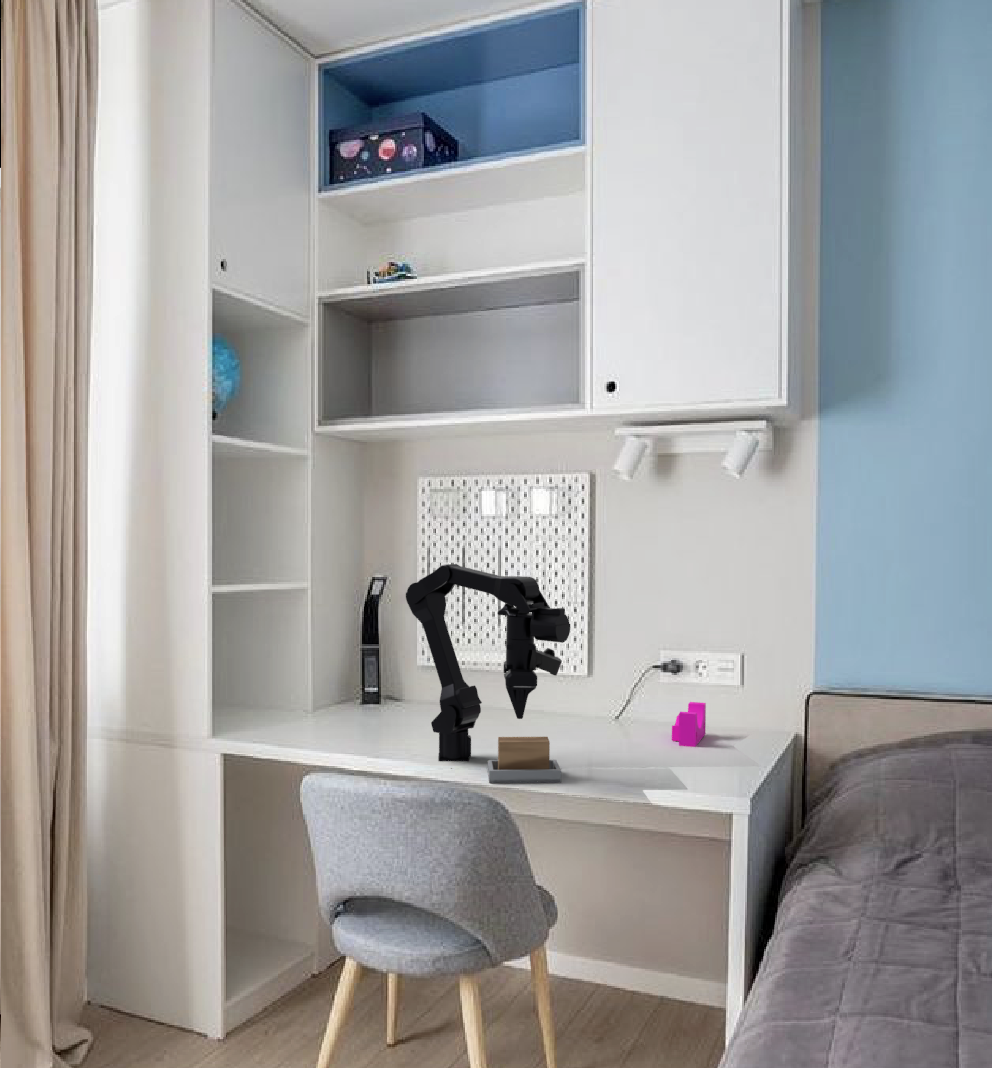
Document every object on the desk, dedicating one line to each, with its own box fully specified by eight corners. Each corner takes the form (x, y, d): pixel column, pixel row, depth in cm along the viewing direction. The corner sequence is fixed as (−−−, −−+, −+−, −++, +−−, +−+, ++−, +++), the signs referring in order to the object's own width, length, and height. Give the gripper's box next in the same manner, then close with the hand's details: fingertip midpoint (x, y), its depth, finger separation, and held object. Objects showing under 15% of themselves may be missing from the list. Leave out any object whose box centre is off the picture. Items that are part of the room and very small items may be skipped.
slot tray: (489, 783, 192) (489, 770, 192) (487, 771, 201) (487, 760, 201) (560, 782, 193) (560, 770, 193) (556, 771, 201) (556, 759, 201)
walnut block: (549, 776, 195) (549, 741, 195) (499, 777, 194) (499, 741, 194) (547, 770, 199) (547, 736, 199) (498, 771, 199) (498, 736, 199)
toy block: (679, 731, 241) (679, 701, 241) (705, 733, 239) (705, 702, 238) (668, 744, 227) (668, 712, 227) (695, 747, 225) (695, 714, 224)
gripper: (563, 645, 192) (561, 724, 192) (555, 633, 211) (554, 705, 211) (506, 644, 192) (505, 723, 192) (504, 632, 210) (502, 704, 211)
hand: (518, 713), depth 201 cm, fingers open, 9 cm apart
